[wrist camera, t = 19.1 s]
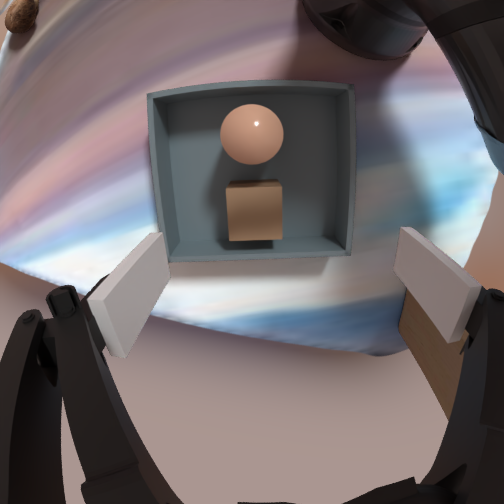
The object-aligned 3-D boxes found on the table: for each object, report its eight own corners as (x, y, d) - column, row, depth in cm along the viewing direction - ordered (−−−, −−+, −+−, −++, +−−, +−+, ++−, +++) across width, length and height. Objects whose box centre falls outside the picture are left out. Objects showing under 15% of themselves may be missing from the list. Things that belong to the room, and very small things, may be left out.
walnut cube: (230, 180, 28) (225, 188, 24) (277, 179, 28) (281, 186, 24) (233, 225, 30) (229, 241, 26) (278, 223, 30) (282, 239, 26)
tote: (163, 100, 25) (146, 93, 21) (338, 92, 25) (354, 84, 20) (177, 244, 32) (165, 262, 27) (337, 238, 32) (350, 255, 27)
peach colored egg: (227, 114, 26) (219, 106, 19) (275, 112, 25) (282, 103, 19) (229, 160, 28) (221, 165, 21) (277, 158, 27) (283, 164, 21)
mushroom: (40, -21, 11) (8, -8, 8) (57, 2, 17) (25, 15, 13) (23, 10, 16) (-5, 24, 12) (39, 32, 21) (11, 48, 18)
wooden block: (441, 319, 37) (500, 401, 18) (394, 330, 37) (448, 429, 19) (456, 267, 33) (536, 344, 15) (406, 274, 33) (488, 373, 15)
